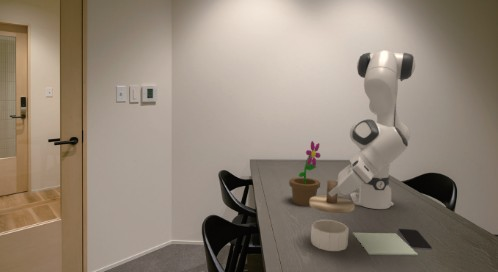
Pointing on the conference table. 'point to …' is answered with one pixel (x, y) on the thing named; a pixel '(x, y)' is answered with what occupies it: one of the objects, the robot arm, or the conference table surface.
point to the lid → (331, 201)
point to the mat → (384, 244)
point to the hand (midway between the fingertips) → (330, 192)
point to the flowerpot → (306, 180)
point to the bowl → (329, 235)
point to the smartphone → (414, 239)
